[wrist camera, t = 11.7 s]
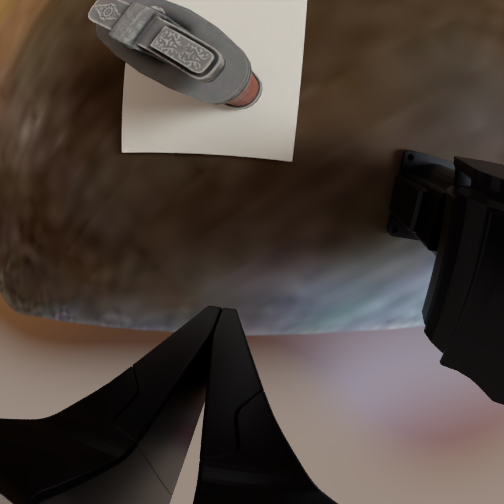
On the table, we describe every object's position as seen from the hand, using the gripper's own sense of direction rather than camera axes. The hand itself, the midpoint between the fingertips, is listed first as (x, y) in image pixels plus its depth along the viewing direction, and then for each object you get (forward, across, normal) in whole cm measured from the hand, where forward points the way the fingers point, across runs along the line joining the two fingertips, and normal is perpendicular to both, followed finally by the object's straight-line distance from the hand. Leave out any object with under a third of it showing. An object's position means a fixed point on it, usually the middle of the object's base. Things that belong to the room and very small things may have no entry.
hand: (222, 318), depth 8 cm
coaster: (+13, +4, -9) cm, 16 cm away
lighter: (+12, +4, -9) cm, 16 cm away
